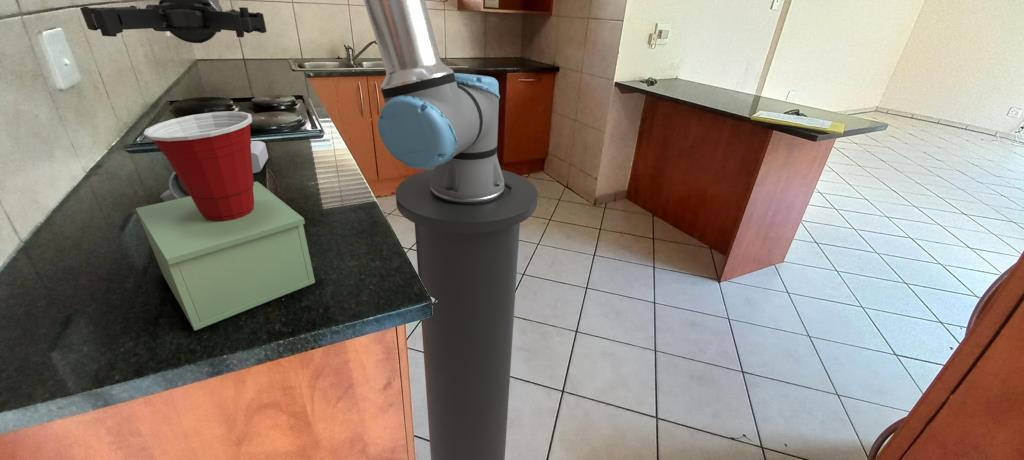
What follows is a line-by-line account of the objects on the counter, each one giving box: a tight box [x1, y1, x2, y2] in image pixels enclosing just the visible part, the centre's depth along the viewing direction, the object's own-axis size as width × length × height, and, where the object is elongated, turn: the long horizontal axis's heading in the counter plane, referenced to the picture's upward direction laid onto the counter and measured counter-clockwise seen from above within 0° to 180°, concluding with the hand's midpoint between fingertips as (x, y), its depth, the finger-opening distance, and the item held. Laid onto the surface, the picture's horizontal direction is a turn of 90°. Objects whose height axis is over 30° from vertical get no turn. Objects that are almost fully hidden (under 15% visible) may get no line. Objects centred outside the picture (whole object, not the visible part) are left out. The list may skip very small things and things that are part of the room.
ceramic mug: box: [159, 171, 190, 202], centre depth 80 cm, size 11×8×8 cm
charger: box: [250, 140, 269, 174], centre depth 99 cm, size 5×9×15 cm
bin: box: [137, 214, 316, 331], centre depth 58 cm, size 16×15×10 cm
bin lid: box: [135, 181, 306, 265], centre depth 55 cm, size 16×15×1 cm
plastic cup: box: [143, 110, 255, 221], centre depth 52 cm, size 11×11×12 cm
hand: (173, 24), depth 52 cm, fingers open, 13 cm apart
